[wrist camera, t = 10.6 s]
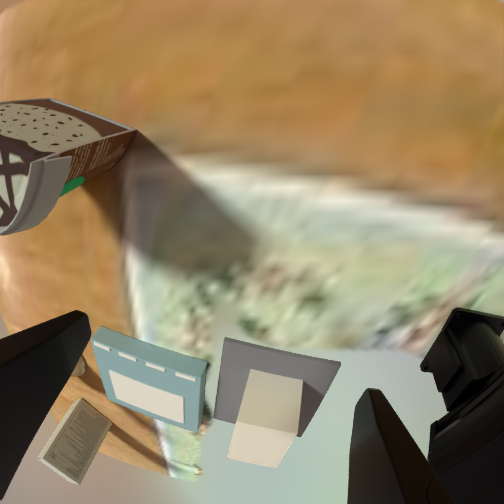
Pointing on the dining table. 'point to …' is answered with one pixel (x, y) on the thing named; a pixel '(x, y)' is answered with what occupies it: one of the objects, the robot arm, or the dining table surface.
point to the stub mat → (274, 362)
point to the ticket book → (151, 378)
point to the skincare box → (75, 441)
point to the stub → (266, 419)
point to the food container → (51, 156)
